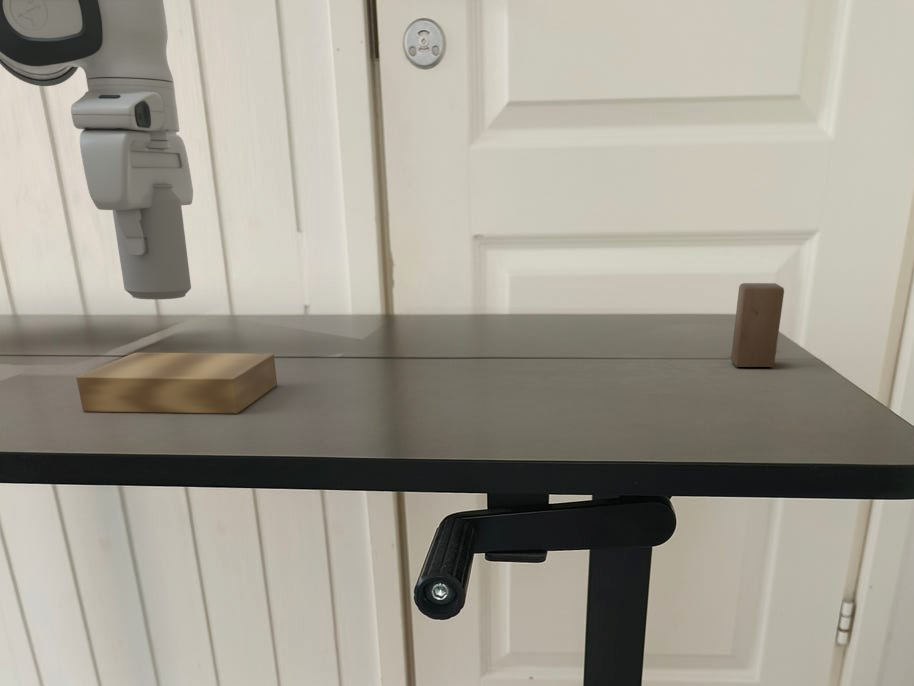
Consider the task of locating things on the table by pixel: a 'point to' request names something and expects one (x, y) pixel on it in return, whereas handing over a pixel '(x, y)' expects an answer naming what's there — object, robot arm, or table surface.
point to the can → (157, 250)
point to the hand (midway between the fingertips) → (154, 251)
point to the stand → (178, 383)
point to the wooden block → (757, 324)
